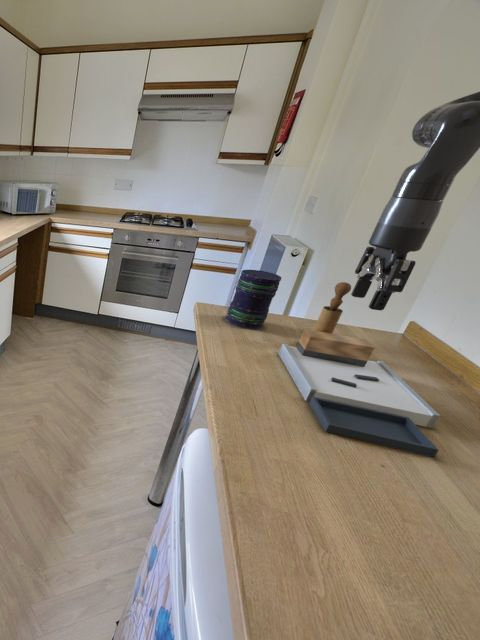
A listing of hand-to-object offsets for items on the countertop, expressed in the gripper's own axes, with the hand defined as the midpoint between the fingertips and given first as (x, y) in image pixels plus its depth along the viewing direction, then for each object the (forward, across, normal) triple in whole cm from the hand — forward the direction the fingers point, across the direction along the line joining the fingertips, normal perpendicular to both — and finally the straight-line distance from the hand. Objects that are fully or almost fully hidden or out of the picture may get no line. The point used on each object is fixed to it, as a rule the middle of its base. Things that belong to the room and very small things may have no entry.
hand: (365, 302), depth 85 cm
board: (+18, -2, -2) cm, 19 cm away
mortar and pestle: (+19, +19, -3) cm, 27 cm away
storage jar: (+19, +30, +12) cm, 38 cm away
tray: (+18, -20, 0) cm, 27 cm away
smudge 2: (+16, -2, -5) cm, 17 cm away
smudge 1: (+16, -7, 0) cm, 17 cm away
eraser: (+16, +8, -1) cm, 18 cm away
